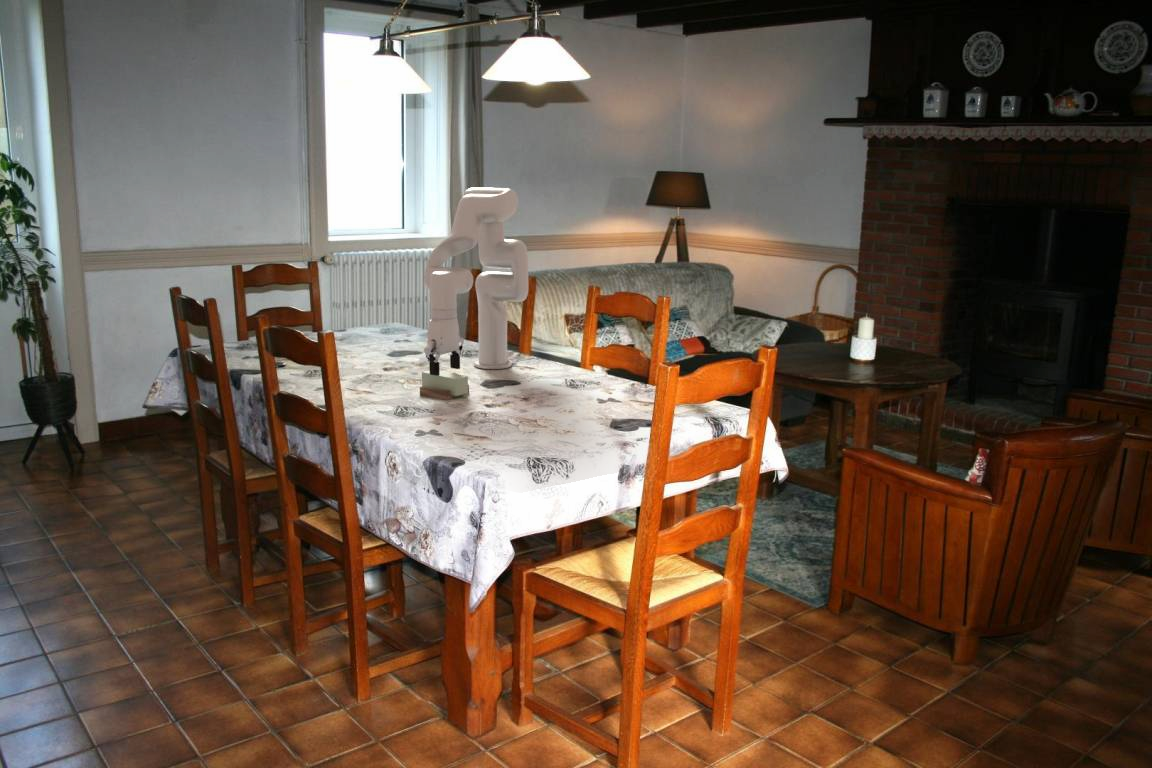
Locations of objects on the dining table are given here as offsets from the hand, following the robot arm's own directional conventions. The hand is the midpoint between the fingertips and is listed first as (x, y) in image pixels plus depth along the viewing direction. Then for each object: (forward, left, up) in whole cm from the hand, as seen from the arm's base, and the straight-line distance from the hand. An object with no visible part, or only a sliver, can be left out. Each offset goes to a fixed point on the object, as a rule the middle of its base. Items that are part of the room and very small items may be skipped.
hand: (445, 371), depth 290 cm
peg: (0, 0, -6) cm, 6 cm away
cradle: (+1, 0, -7) cm, 7 cm away
